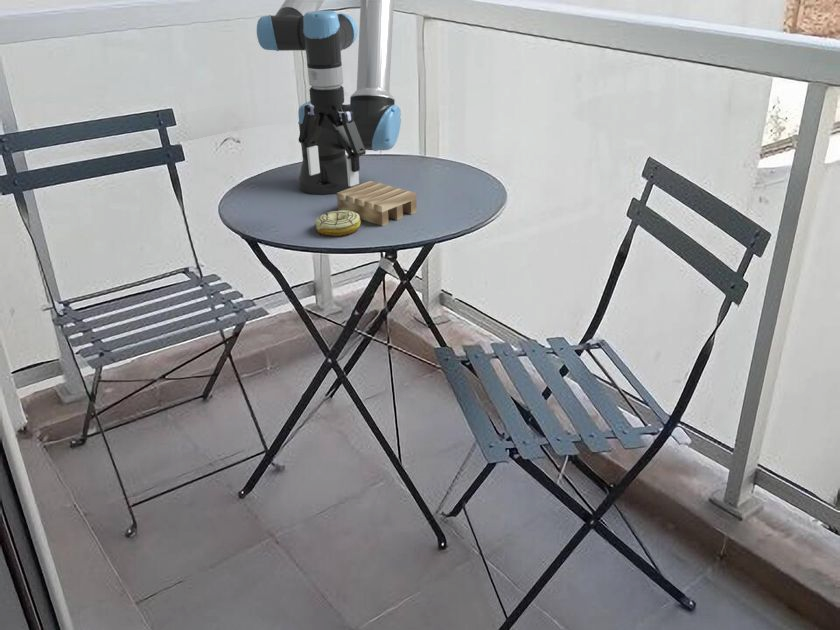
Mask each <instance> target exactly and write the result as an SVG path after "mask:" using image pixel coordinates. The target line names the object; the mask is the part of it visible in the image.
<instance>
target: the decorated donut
mask: <svg viewBox="0 0 840 630" xmlns="http://www.w3.org/2000/svg"><path fill="white" fill-rule="evenodd" d="M361 220H362V219H360V216H359V214H357V213H355V212H353V211H348V210H340V211H338V210H332V211H327V212H325V213H323V214H321V215H320V216H318V217H317V218H316V219H315V221H314V224H315V228H316V232H318V233H319V234H320V233H321V234H320V235H324V234H326V235H333V236H332V237H337V236H338V237H343V236H347V234H348V235H351V233H352V234H353V232H354V233H355V232H357V230H358V229H359V227H360V226H361ZM326 235H325V236H326ZM342 235H343V236H342Z"/></svg>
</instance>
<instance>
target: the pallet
mask: <svg viewBox="0 0 840 630" xmlns="http://www.w3.org/2000/svg"><path fill="white" fill-rule="evenodd" d="M336 201H337V203H336V204H337V211H340V210H348V211H353V212H355V213H357V214H359V216H360V220H363V221H366V222H369V223H372V224H375V225H378V226H382V227H384V226H386V225H389V224H390V222H389V219H392V220H395V221H398V220H402V219H404V213H405V214H408V215H413V214H416V213H418V206H417V202H418V201H417V192H413V191H409V190H406V189H403V188H398V187H395V186H391V185H388V184H386V183H382V182H377V181H373V180H370V181H367V182H363V183H361V184H360V183H359V184H357V185H354V186H353V187H351V188H349V189H346V190H344V191H341V192H337V193H336Z"/></svg>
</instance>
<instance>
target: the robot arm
mask: <svg viewBox="0 0 840 630" xmlns="http://www.w3.org/2000/svg"><path fill="white" fill-rule="evenodd" d="M324 2H325V0H284V2H283V3H282V5H281V6H280V8H279V10H278V11H277V12H276V13H275V15H272V14H269V15H263V16H261V17H260V18H259V19H258V21H257V24H256V38H257V40H258V44H259V46H260V47H261V48H262V49H264V50H266V51H276V52H280V51H285V52H287V51H305V54H306V64H307V65H306V66H307V75H308V76H307V77H308V85H309V86H310V88H309V90H308V91H309V101H308V102H304V103H303V104H302V105H300V106H299V108H298V111H297V112H298V127H299V137H298V142H299V144H300V146H301V155H302V162H301V168H300V173H299V177H298V187H299V190H300V189H301V190H300V191H302V192H304V193H306V194H313V195H329V194H337V193H338V192H341V191H344V190H346V189H349V188H352V187H355V186H358V185H360V175H359V174H360V173H359V172H360V169H361V167H360V166H361V165H360V157H361V156H363V155H366V153H367V152H366V151H374V152H378V151H389V150H391V149H392V148H394V147H395V145H396V143H397V141H398V140H399V139H398V138H399V134H400V131H401V124H402V123H401V122H402V118H401V116H402V113H401V108H400V106H398V105H397V104H396V103H395V102H396V101H395V97H394V96H392V95H391V92H390V85H391V84H390V83H391V63H392V48H393V47H392V46H393V44H392V43H393V24H394V6H395V5H394V3H395V0H360V9H359V12H360V13H359V30H358V26H357V23H356V21H355V20H354V18H352V17H351V16H350V15H349V14H346V13H341V12H340V13H337V12H336V11H334V10H326V9H325V10H319V9H320V8H321V6H322V5H323V3H324ZM357 36H358V37H357ZM357 38H358V49H357V50H358V54H357V55H358V57H357V71H356V72H357V75H356V76H357V79H356V90H355V91H354V93H352V94H351V95H350V102H349V104H344V103H345V92H344V91H345V89H344V86H343V83H344V74H343V73H344V72H343V66H342V65H343V64H342V51H343V50H346V49H348V48H350V46H352V44H354V42H355V41H356V39H357ZM346 154H347V155H348V156H347V155H346Z"/></svg>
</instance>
